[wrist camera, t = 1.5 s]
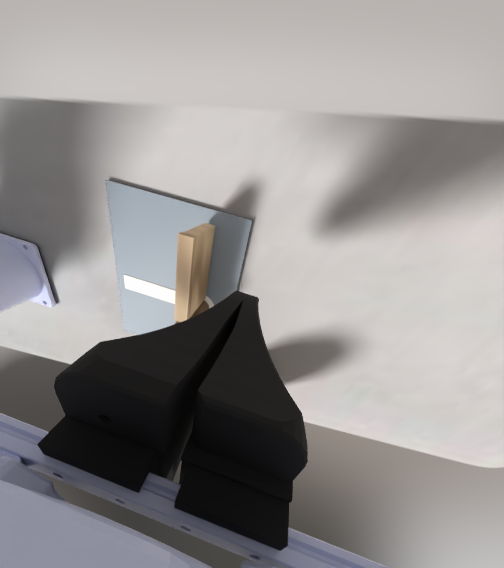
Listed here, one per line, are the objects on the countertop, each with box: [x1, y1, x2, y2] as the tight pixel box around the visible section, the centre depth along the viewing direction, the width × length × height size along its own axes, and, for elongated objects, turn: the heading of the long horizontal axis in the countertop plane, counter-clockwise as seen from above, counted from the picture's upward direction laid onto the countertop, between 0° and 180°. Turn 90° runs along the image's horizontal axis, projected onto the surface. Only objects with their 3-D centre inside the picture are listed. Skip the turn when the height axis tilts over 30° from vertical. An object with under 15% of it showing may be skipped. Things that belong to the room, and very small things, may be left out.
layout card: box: [105, 180, 252, 335], centre depth 19 cm, size 12×16×1 cm
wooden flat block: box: [174, 223, 215, 322], centre depth 15 cm, size 7×1×4 cm, turn 166°
